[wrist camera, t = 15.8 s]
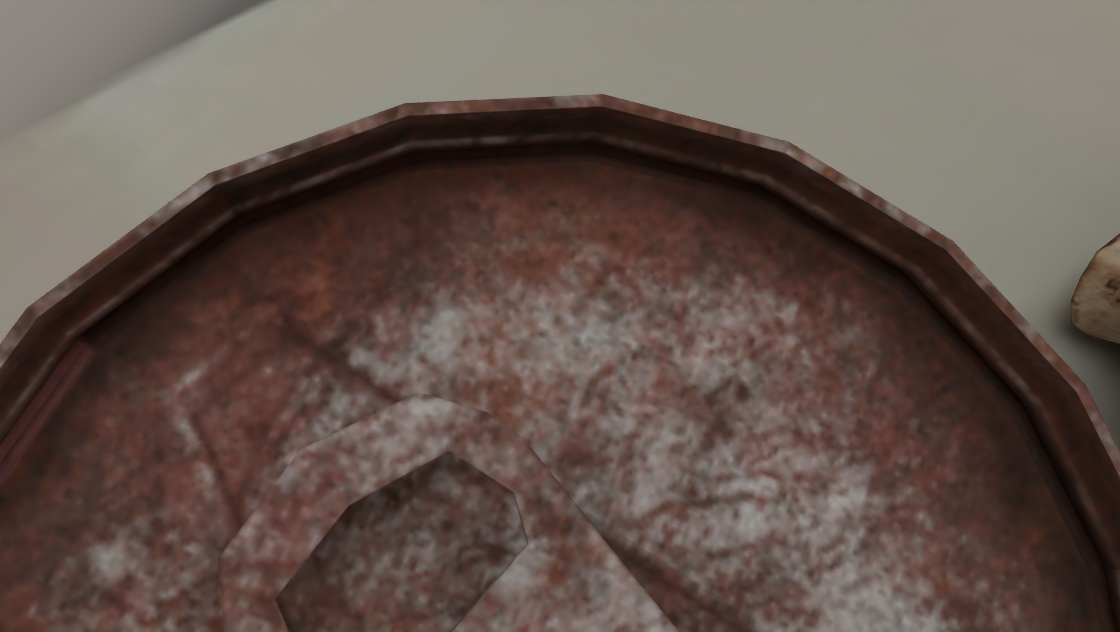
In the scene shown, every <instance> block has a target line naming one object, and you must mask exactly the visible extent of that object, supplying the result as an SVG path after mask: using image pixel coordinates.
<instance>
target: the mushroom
mask: <svg viewBox="0 0 1120 632" xmlns="http://www.w3.org/2000/svg"><path fill="white" fill-rule="evenodd" d="M1071 317H1072V323H1073V324H1074V325H1075V326H1077V327H1078V328H1079V329H1080V330H1081V331H1083V332H1084V333H1085V334H1087V335H1090V336H1094V337H1098V338H1101V339H1105V340H1108V341H1112V342H1116V343H1119V344H1120V234H1119V235H1117V236H1116V237H1115V238H1114V239H1112V240H1111V241H1110V242H1109V243H1107V244H1106V245H1105V246H1103V247H1102V248H1101V249H1100V250H1098V251H1097V252H1096V254H1095V256H1094V257H1093V259H1092V260H1091V262H1090V263H1089V265H1088V266H1087V268H1086V269H1085V271H1084V272H1083V274H1082V276H1081V277H1080V280H1079V282H1078V285H1077V287H1076V290H1075V292H1074V294H1073V297H1072V299H1071Z"/></svg>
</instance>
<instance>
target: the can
mask: <svg viewBox="0 0 1120 632" xmlns="http://www.w3.org/2000/svg"><path fill="white" fill-rule="evenodd" d="M0 632H1120V452H1119V450H1118V448H1117V446H1116V444H1115V442H1114V440H1113V438H1112V436H1111V434H1110V432H1109V430H1108V428H1107V426H1106V424H1105V422H1104V420H1103V418H1102V416H1101V414H1100V412H1099V410H1098V408H1097V406H1096V404H1095V402H1094V400H1093V399H1092V397H1091V395H1090V393H1089V391H1088V389H1087V387H1086V385H1085V384H1084V383H1083V382H1082V381H1081V379H1080V378H1079V377H1078V376H1077V375H1076V374H1075V373H1074V372H1073V371H1072V370H1071V369H1070V368H1069V366H1068V365H1067V364H1066V363H1065V362H1064V361H1063V360H1062V359H1061V358H1060V357H1059V356H1058V355H1057V353H1056V352H1055V351H1054V350H1053V349H1052V348H1051V347H1050V346H1049V345H1048V344H1047V343H1046V342H1045V340H1044V339H1043V338H1042V337H1041V336H1040V335H1039V334H1038V333H1037V332H1036V331H1035V330H1034V328H1033V327H1032V326H1031V325H1030V324H1029V323H1028V322H1027V321H1026V320H1025V319H1024V318H1023V317H1022V315H1021V314H1020V313H1019V312H1018V311H1017V310H1016V309H1015V308H1014V307H1013V306H1012V305H1011V304H1010V302H1009V301H1008V300H1007V299H1006V298H1005V297H1004V296H1003V295H1002V294H1001V293H1000V292H999V291H998V289H997V288H996V287H995V286H994V285H993V284H992V283H991V282H990V281H989V280H988V279H987V277H986V276H985V275H984V274H983V273H982V272H981V271H980V270H979V269H978V268H977V267H976V266H975V264H974V263H973V262H972V261H971V260H970V259H969V258H968V257H967V256H966V255H965V254H964V253H963V251H962V250H961V249H960V248H959V247H958V246H957V245H956V244H955V243H954V242H953V241H952V240H950V239H949V238H947V237H945V236H944V235H942V234H940V233H939V232H937V231H936V230H934V229H932V228H931V227H929V226H927V225H926V224H924V223H922V222H921V221H919V220H917V219H916V218H914V217H912V216H911V215H909V214H907V213H906V212H904V211H902V210H901V209H899V208H897V207H896V206H894V205H892V204H891V203H889V202H887V201H886V200H884V199H883V198H881V197H879V196H878V195H876V194H874V193H873V192H871V191H869V190H868V189H866V188H864V187H863V186H861V185H859V184H858V183H856V182H854V181H853V180H851V179H849V178H848V177H846V176H844V175H843V174H841V173H839V172H838V171H836V170H834V169H833V168H831V167H830V166H828V165H826V164H825V163H823V162H821V161H820V160H818V159H816V158H815V157H813V156H811V155H810V154H808V153H806V152H805V151H803V150H801V149H800V148H798V147H796V146H795V145H793V144H791V143H790V142H787V141H783V140H779V139H775V138H771V137H767V136H764V135H760V134H756V133H752V132H748V131H744V130H740V129H736V128H732V127H729V126H725V125H721V124H717V123H713V122H709V121H705V120H701V119H697V118H693V117H690V116H686V115H682V114H678V113H674V112H670V111H666V110H662V109H658V108H655V107H651V106H647V105H643V104H639V103H635V102H631V101H627V100H623V99H619V98H616V97H612V96H608V95H604V94H598V95H576V96H554V97H532V98H510V99H488V100H467V101H445V102H423V103H405V104H402V105H399V106H396V107H393V108H391V109H388V110H385V111H382V112H379V113H377V114H374V115H371V116H368V117H365V118H363V119H360V120H357V121H354V122H351V123H349V124H346V125H343V126H340V127H337V128H335V129H332V130H329V131H326V132H323V133H321V134H318V135H315V136H312V137H309V138H307V139H304V140H301V141H298V142H295V143H293V144H290V145H287V146H284V147H281V148H279V149H276V150H273V151H270V152H267V153H265V154H262V155H259V156H256V157H253V158H251V159H248V160H245V161H242V162H239V163H237V164H234V165H231V166H228V167H225V168H223V169H220V170H217V171H214V172H211V173H209V174H207V175H206V176H204V177H203V178H202V179H200V180H199V181H197V182H196V183H195V184H193V185H192V186H191V187H189V188H188V189H187V190H185V191H184V192H183V193H181V194H180V195H179V196H177V197H176V198H175V199H173V200H172V201H170V202H169V203H168V204H166V205H165V206H164V207H162V208H161V209H160V210H158V211H157V212H156V213H154V214H153V215H152V216H150V217H149V218H148V219H146V220H145V221H144V222H142V223H141V224H139V225H138V226H137V227H135V228H134V229H133V230H131V231H130V232H129V233H127V234H126V235H125V236H123V237H122V238H121V239H119V240H118V241H117V242H115V243H114V244H113V245H111V246H110V247H108V248H107V249H106V250H104V251H103V252H102V253H100V254H99V255H98V256H96V257H95V258H94V259H92V260H91V261H90V262H88V263H87V264H86V265H84V266H83V267H81V268H80V269H79V270H77V271H76V272H75V273H73V274H72V275H71V276H69V277H68V278H67V279H65V280H64V281H63V282H61V283H60V284H59V285H57V286H56V287H55V288H53V289H52V290H50V291H49V292H48V293H46V294H45V295H44V296H42V297H41V298H40V299H38V300H37V301H36V302H34V303H33V304H32V305H30V306H29V307H28V308H27V309H26V310H25V311H24V313H23V314H22V315H21V317H20V318H19V319H18V321H17V322H16V323H15V325H14V326H13V327H12V329H11V330H10V331H9V333H8V334H7V335H6V337H5V338H4V339H3V341H2V342H1V344H0Z"/></svg>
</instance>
